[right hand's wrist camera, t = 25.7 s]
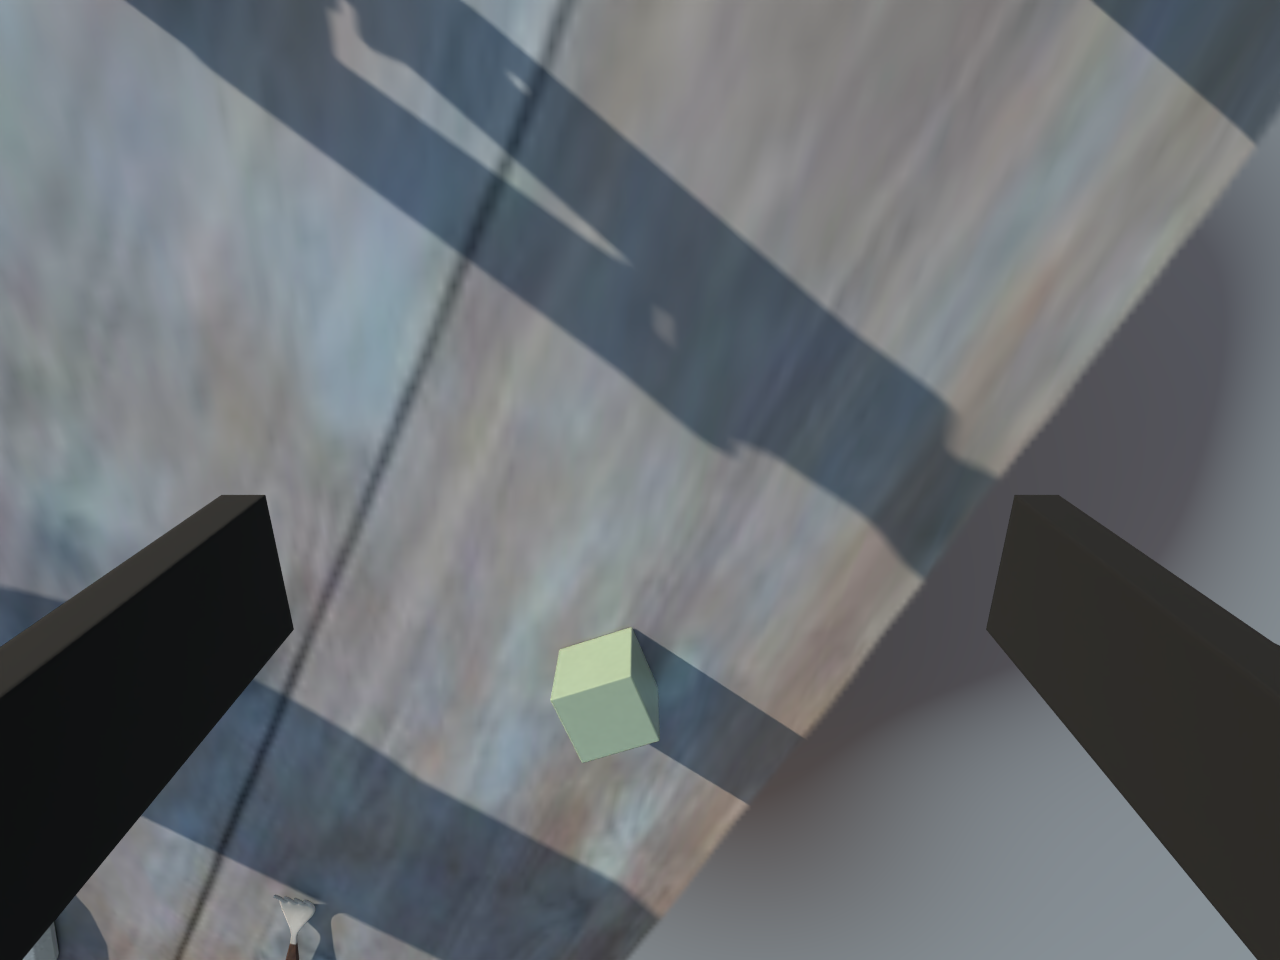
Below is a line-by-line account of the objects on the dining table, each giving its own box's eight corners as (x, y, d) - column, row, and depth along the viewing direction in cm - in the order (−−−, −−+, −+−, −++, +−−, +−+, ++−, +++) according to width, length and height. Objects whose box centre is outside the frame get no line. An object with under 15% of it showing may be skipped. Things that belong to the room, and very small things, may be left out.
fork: (274, 1008, 57) (262, 1035, 55) (283, 871, 52) (270, 896, 50) (306, 1013, 58) (295, 1040, 56) (319, 877, 52) (307, 902, 50)
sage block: (631, 626, 44) (631, 675, 40) (658, 687, 46) (660, 741, 41) (559, 648, 45) (549, 700, 40) (587, 708, 47) (581, 764, 42)
